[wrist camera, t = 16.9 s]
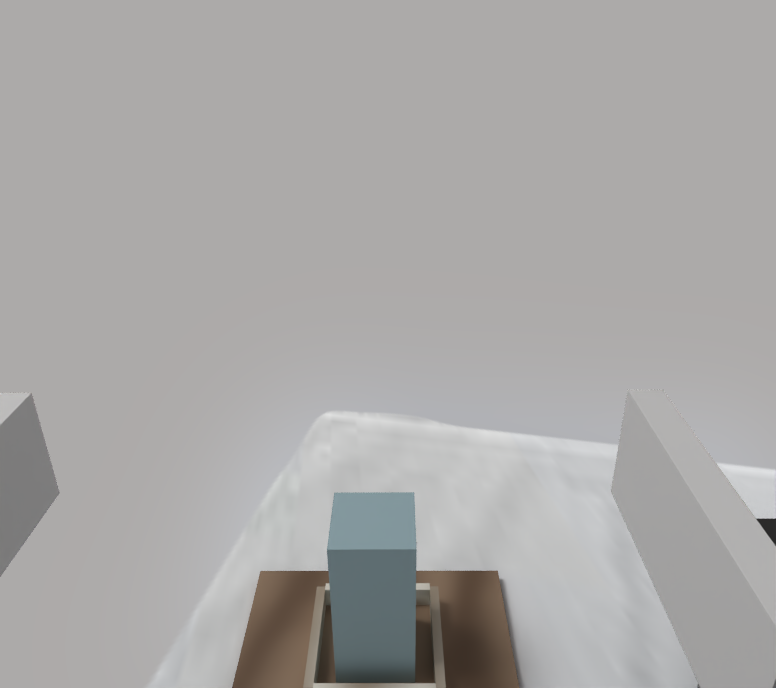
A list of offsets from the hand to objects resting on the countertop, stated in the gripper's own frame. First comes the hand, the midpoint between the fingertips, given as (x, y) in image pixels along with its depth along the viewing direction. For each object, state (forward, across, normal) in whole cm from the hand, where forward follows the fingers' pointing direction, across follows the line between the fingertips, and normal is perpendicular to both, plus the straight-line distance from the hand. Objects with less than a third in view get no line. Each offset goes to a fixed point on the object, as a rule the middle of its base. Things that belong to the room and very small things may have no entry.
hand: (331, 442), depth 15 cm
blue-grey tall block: (+19, 0, -29) cm, 35 cm away
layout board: (+19, 0, -30) cm, 35 cm away
